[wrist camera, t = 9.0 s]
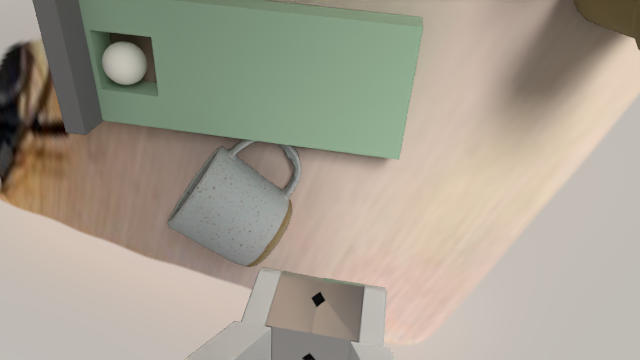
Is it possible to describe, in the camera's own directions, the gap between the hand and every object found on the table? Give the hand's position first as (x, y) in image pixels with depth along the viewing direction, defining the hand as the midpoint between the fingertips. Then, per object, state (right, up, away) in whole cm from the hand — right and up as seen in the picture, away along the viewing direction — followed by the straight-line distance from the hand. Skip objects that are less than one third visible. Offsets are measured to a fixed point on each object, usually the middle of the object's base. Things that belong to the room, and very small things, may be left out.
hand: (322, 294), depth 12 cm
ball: (-14, +12, +27) cm, 33 cm away
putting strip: (-6, +12, +26) cm, 29 cm away
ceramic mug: (-6, +3, +31) cm, 32 cm away
